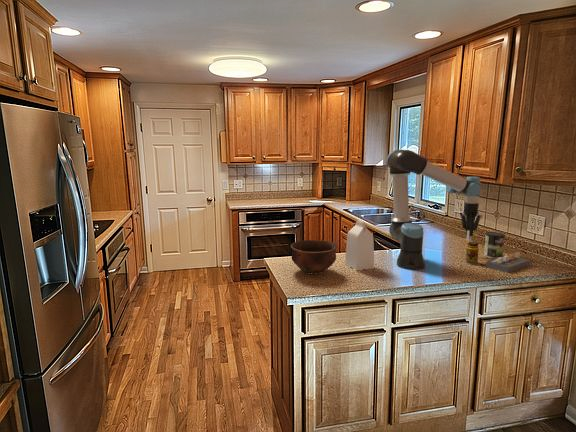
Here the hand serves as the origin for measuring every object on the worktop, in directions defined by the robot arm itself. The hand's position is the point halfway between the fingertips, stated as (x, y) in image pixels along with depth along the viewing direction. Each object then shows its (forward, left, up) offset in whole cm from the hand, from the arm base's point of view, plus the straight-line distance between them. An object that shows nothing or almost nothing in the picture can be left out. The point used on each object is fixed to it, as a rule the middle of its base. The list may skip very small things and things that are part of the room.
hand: (468, 240), depth 227 cm
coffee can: (+12, -9, -10) cm, 18 cm away
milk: (-69, +22, -10) cm, 73 cm away
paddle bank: (0, -24, -6) cm, 25 cm away
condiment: (-11, -9, -10) cm, 17 cm away
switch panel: (0, -24, -9) cm, 26 cm away
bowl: (-96, +29, -10) cm, 101 cm away
